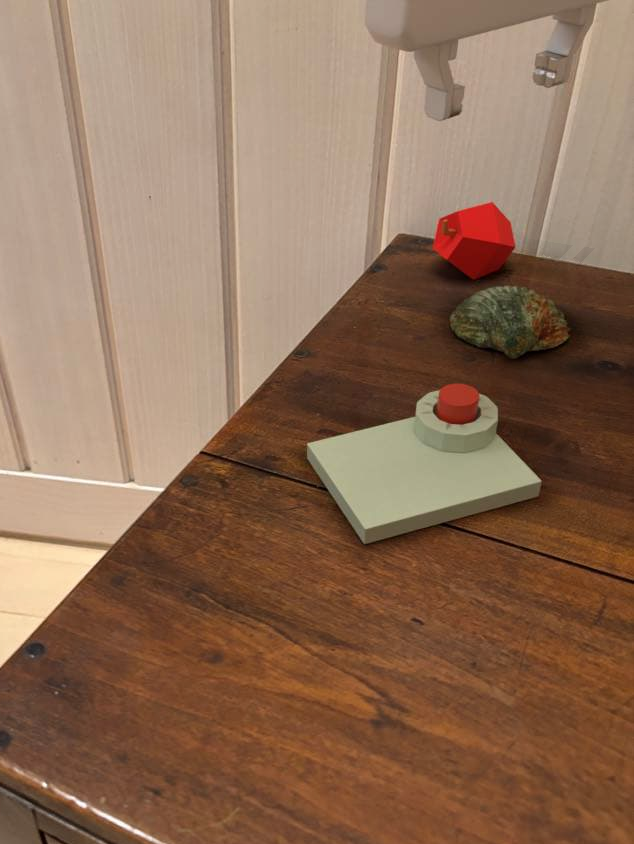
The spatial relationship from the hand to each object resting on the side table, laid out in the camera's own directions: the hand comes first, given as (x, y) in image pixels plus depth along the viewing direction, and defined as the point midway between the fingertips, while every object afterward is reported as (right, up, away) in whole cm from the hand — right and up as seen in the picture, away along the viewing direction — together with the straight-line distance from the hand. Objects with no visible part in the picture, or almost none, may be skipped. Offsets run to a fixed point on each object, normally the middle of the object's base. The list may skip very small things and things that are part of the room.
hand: (497, 99), depth 58 cm
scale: (-4, -23, +7) cm, 25 cm away
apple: (+6, -2, +30) cm, 30 cm away
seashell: (+7, -10, +21) cm, 24 cm away
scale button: (-1, -19, +8) cm, 20 cm away
